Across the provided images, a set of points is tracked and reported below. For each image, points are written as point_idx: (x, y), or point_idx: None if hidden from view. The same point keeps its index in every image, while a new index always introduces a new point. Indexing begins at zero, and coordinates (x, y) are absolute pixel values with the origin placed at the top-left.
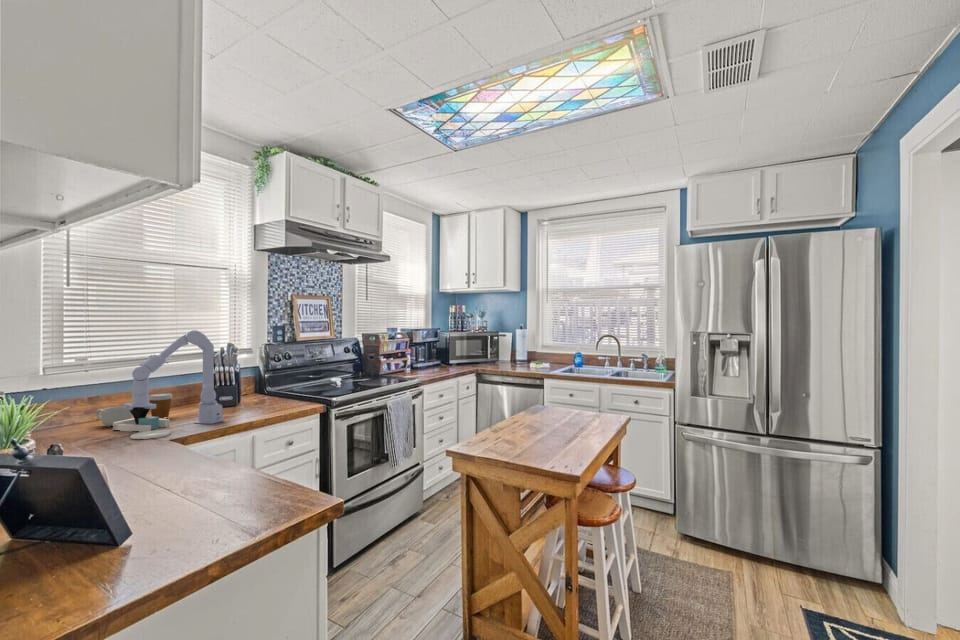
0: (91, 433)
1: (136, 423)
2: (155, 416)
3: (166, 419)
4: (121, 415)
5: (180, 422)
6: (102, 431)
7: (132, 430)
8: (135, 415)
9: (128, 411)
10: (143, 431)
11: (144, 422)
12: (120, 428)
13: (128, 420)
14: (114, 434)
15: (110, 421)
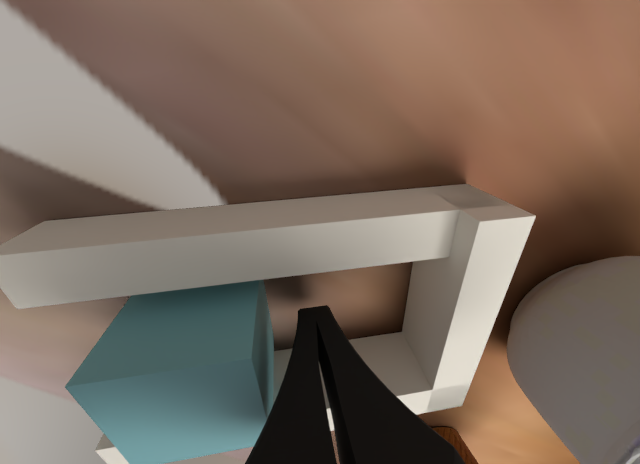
0: (595, 16)
1: (323, 316)
2: None
3: (101, 455)
4: (591, 372)
5: (233, 455)
6: (538, 132)
7: (236, 207)
8: (340, 397)
9: (585, 445)
10: (85, 218)
11: (165, 331)
12: (393, 199)
13: (447, 331)
14: (280, 27)
15: (615, 280)
